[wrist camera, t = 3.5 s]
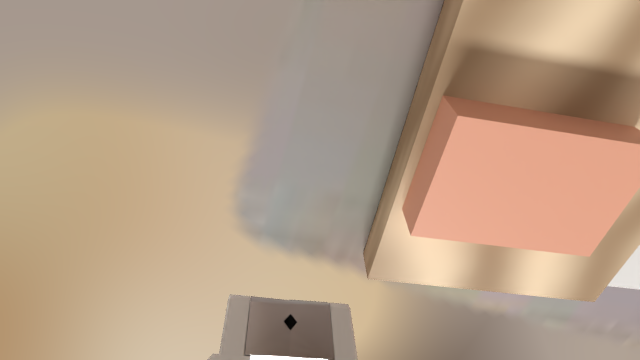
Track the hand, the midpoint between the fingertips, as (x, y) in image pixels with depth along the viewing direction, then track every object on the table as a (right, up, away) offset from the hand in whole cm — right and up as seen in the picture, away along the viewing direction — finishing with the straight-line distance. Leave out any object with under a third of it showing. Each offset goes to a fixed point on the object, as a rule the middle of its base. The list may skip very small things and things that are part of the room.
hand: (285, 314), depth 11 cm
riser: (+12, +5, +11) cm, 17 cm away
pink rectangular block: (+10, +4, +9) cm, 14 cm away
